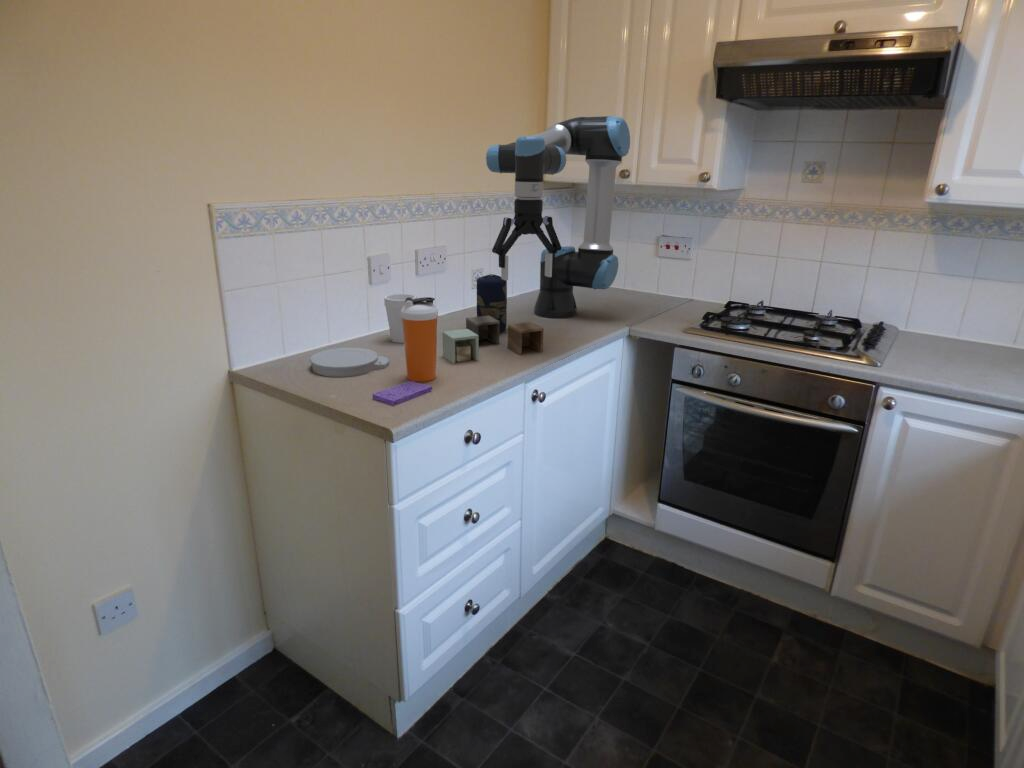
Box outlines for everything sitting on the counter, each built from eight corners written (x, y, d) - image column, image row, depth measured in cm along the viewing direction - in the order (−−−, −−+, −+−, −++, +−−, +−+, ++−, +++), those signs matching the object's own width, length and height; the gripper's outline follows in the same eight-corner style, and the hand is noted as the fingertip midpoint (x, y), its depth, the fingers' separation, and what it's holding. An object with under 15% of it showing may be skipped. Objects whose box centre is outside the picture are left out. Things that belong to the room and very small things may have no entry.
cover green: (467, 352, 182) (467, 328, 180) (478, 360, 176) (478, 335, 173) (442, 356, 179) (442, 331, 177) (452, 363, 173) (452, 338, 170)
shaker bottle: (442, 381, 159) (440, 301, 152) (406, 384, 157) (402, 303, 150) (436, 370, 167) (434, 294, 160) (401, 373, 165) (398, 295, 158)
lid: (392, 375, 164) (391, 363, 163) (310, 380, 159) (309, 369, 158) (386, 355, 180) (386, 345, 179) (311, 359, 175) (310, 349, 174)
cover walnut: (530, 345, 191) (531, 322, 188) (542, 351, 184) (543, 328, 182) (507, 347, 187) (507, 324, 185) (519, 354, 181) (519, 330, 179)
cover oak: (488, 337, 197) (488, 315, 195) (499, 344, 191) (499, 321, 189) (466, 340, 194) (466, 317, 192) (476, 347, 188) (476, 323, 185)
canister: (502, 335, 200) (503, 277, 194) (473, 333, 202) (473, 276, 196) (509, 328, 209) (510, 272, 203) (480, 326, 211) (480, 271, 204)
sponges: (372, 401, 147) (371, 393, 147) (411, 386, 157) (411, 379, 156) (394, 408, 143) (393, 400, 143) (432, 392, 153) (432, 385, 152)
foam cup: (408, 345, 188) (406, 301, 184) (380, 342, 191) (378, 298, 187) (423, 337, 196) (422, 295, 192) (396, 334, 199) (394, 292, 195)
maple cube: (464, 356, 180) (464, 342, 178) (470, 360, 176) (470, 345, 175) (451, 357, 178) (451, 343, 177) (456, 361, 175) (456, 347, 173)
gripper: (492, 200, 163) (491, 283, 170) (576, 198, 174) (572, 277, 181) (480, 198, 170) (480, 278, 177) (561, 196, 180) (558, 272, 187)
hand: (526, 278), depth 179 cm, fingers open, 13 cm apart
